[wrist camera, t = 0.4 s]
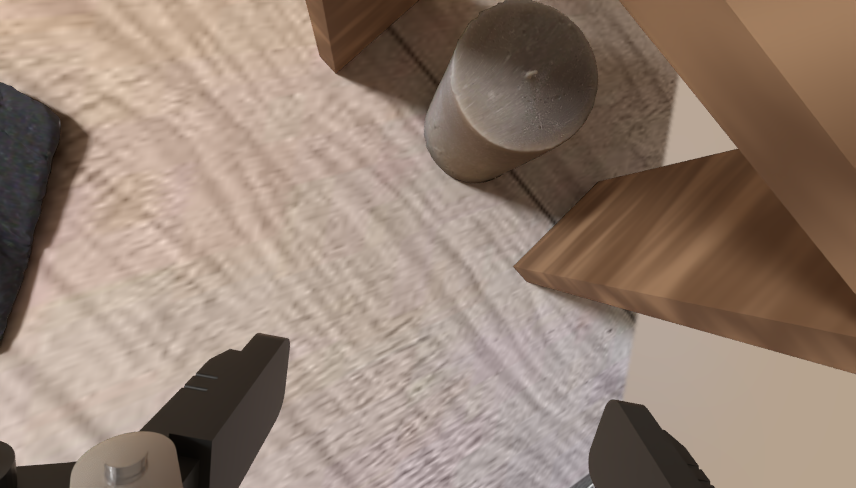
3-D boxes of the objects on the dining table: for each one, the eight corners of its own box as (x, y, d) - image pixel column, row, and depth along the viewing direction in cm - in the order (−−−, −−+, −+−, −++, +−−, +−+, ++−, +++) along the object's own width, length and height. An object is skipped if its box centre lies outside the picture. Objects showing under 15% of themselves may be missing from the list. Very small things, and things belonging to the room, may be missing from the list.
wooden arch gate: (319, 56, 38) (95, -819, 7) (417, -29, 39) (629, -1135, 8) (526, 281, 41) (1056, 430, 10) (611, 196, 42) (1337, 78, 11)
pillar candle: (534, 168, 41) (629, 126, 26) (438, 195, 40) (481, 167, 25) (507, 69, 41) (588, -31, 26) (408, 93, 39) (435, 3, 25)
